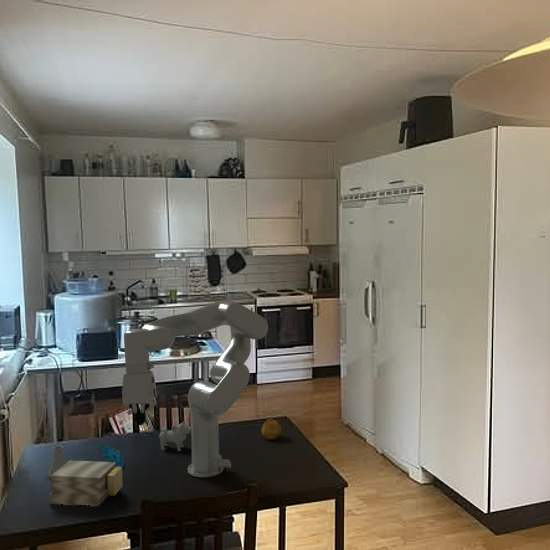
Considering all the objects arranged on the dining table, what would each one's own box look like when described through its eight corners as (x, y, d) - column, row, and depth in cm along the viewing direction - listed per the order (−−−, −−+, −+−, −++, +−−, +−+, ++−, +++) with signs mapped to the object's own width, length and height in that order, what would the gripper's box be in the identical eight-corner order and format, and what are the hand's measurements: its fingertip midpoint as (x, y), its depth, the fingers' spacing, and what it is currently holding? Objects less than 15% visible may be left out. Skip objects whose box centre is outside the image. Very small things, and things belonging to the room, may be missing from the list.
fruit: (258, 428, 226) (261, 415, 221) (277, 428, 228) (280, 415, 223) (261, 444, 219) (264, 431, 215) (280, 444, 221) (284, 431, 217)
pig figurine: (190, 451, 207) (189, 424, 207) (158, 450, 209) (157, 423, 208) (193, 446, 212) (193, 420, 212) (162, 445, 214) (162, 419, 213)
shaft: (122, 486, 174) (122, 467, 174) (114, 495, 168) (113, 475, 167) (63, 483, 176) (62, 464, 176) (53, 492, 170) (52, 472, 170)
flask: (56, 481, 182) (55, 452, 182) (43, 476, 186) (42, 448, 185) (74, 473, 188) (73, 445, 188) (61, 469, 192) (60, 442, 192)
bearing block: (117, 486, 178) (117, 461, 178) (99, 506, 164) (98, 479, 164) (72, 483, 180) (71, 459, 180) (49, 503, 166) (48, 477, 166)
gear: (119, 469, 188) (100, 448, 189) (107, 481, 188) (88, 460, 189) (130, 460, 199) (112, 440, 200) (119, 472, 199) (100, 452, 200)
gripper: (163, 364, 175) (166, 419, 176) (119, 365, 176) (122, 419, 178) (157, 370, 168) (160, 428, 169) (110, 371, 169) (113, 428, 170)
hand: (140, 423), depth 173 cm, fingers closed
